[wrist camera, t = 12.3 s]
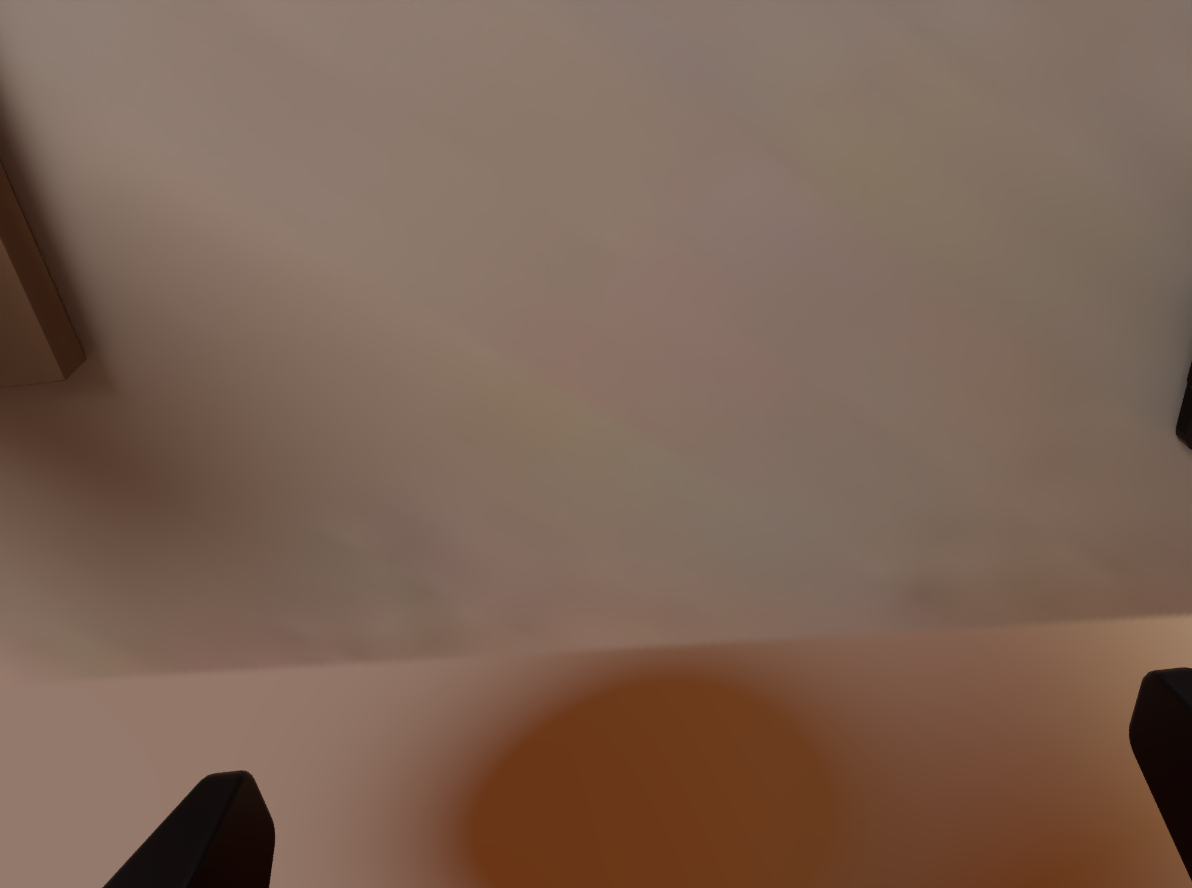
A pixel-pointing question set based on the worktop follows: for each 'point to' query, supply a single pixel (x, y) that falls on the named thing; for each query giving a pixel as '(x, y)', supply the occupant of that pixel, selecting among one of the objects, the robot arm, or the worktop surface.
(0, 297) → the coaster board
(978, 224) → the worktop surface
